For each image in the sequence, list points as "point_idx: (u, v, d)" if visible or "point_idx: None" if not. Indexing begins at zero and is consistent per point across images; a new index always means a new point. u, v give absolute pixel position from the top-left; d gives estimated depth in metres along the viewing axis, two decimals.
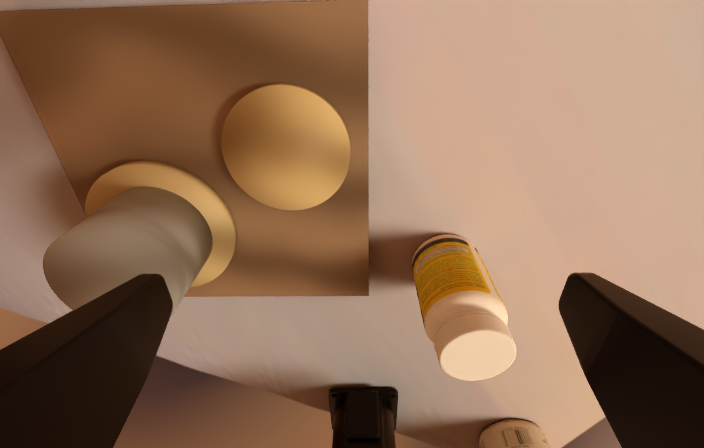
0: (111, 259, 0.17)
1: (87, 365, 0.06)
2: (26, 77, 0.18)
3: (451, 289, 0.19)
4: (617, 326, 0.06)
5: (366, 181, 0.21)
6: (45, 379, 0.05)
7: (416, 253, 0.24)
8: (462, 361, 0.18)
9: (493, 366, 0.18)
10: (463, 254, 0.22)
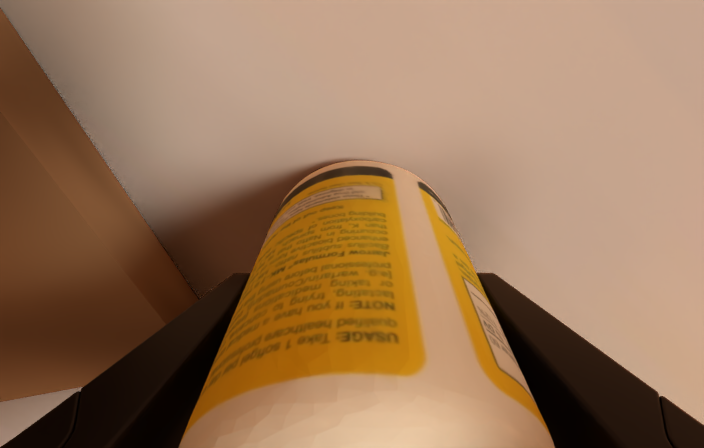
0: None
1: (210, 366, 0.06)
2: None
3: (229, 374, 0.04)
4: None
5: None
6: (184, 380, 0.05)
7: None
8: None
9: None
10: (352, 204, 0.06)
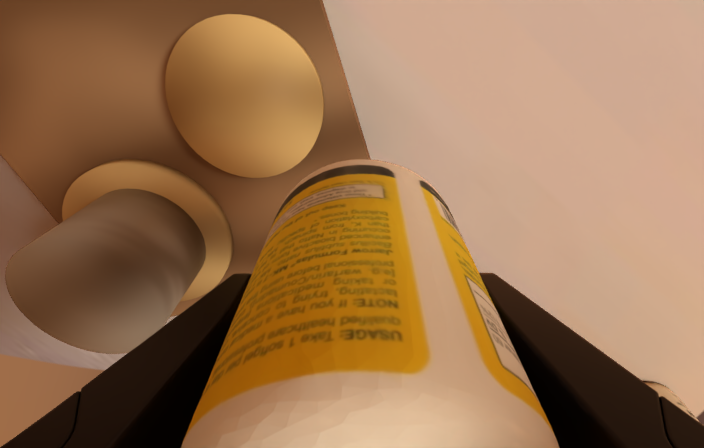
0: (71, 271, 0.14)
1: (210, 366, 0.06)
2: None
3: (233, 371, 0.04)
4: None
5: (352, 115, 0.16)
6: (184, 380, 0.05)
7: None
8: None
9: None
10: (354, 203, 0.06)
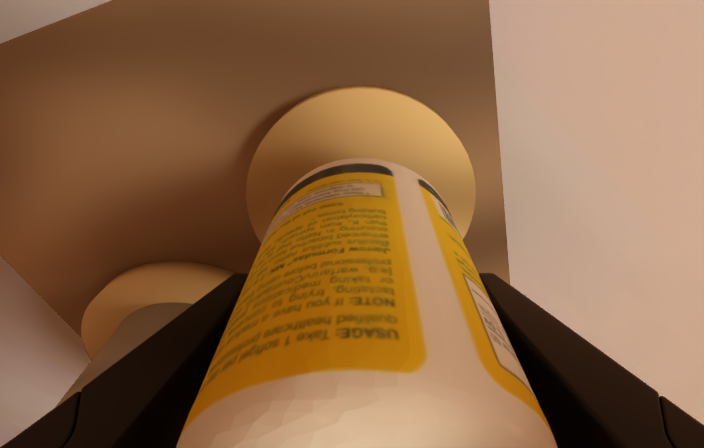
0: None
1: None
2: None
3: (227, 371, 0.04)
4: None
5: (501, 219, 0.12)
6: (184, 380, 0.05)
7: None
8: None
9: None
10: (352, 202, 0.06)
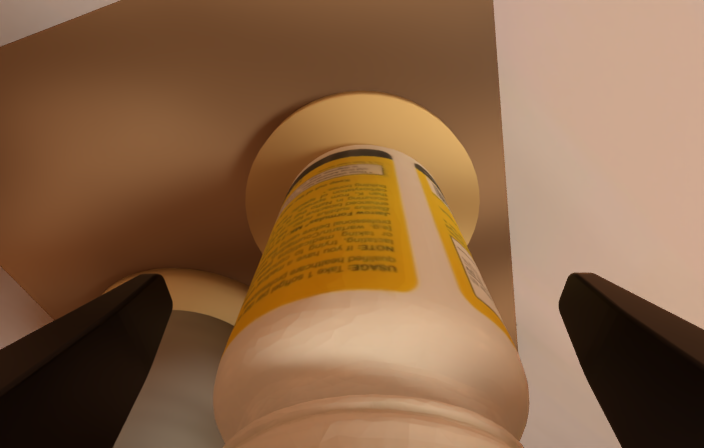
0: None
1: (87, 365, 0.06)
2: None
3: (263, 300, 0.05)
4: (617, 326, 0.06)
5: (505, 226, 0.12)
6: (45, 379, 0.05)
7: None
8: None
9: None
10: (357, 178, 0.07)
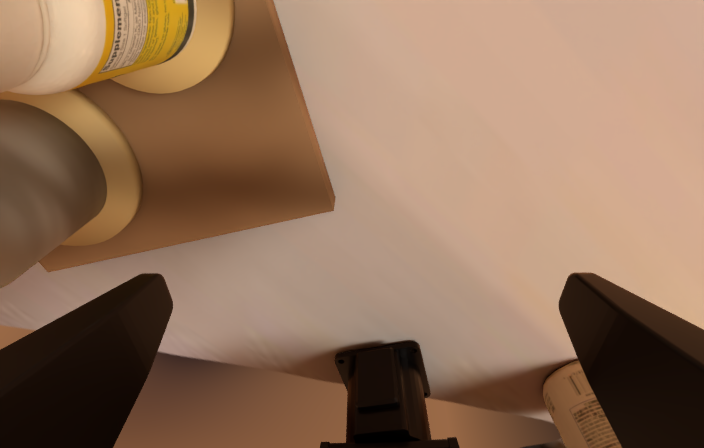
0: None
1: (87, 365, 0.06)
2: None
3: None
4: (617, 326, 0.06)
5: (269, 21, 0.14)
6: (45, 379, 0.05)
7: None
8: None
9: None
10: None
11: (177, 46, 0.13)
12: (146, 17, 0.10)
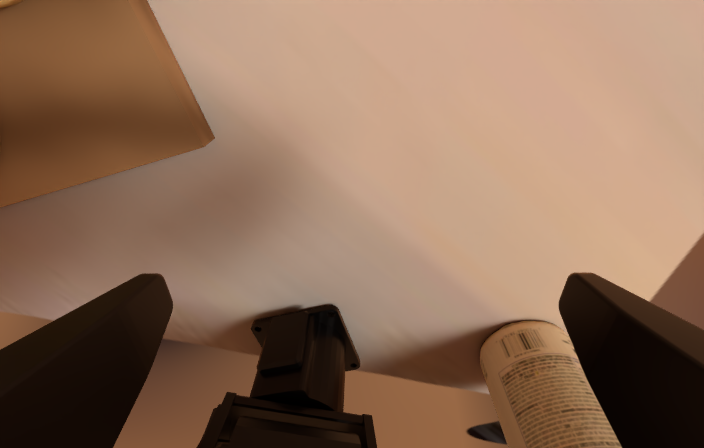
0: None
1: (87, 365, 0.06)
2: None
3: None
4: (617, 326, 0.06)
5: None
6: (45, 379, 0.05)
7: None
8: None
9: None
10: None
11: None
12: None
